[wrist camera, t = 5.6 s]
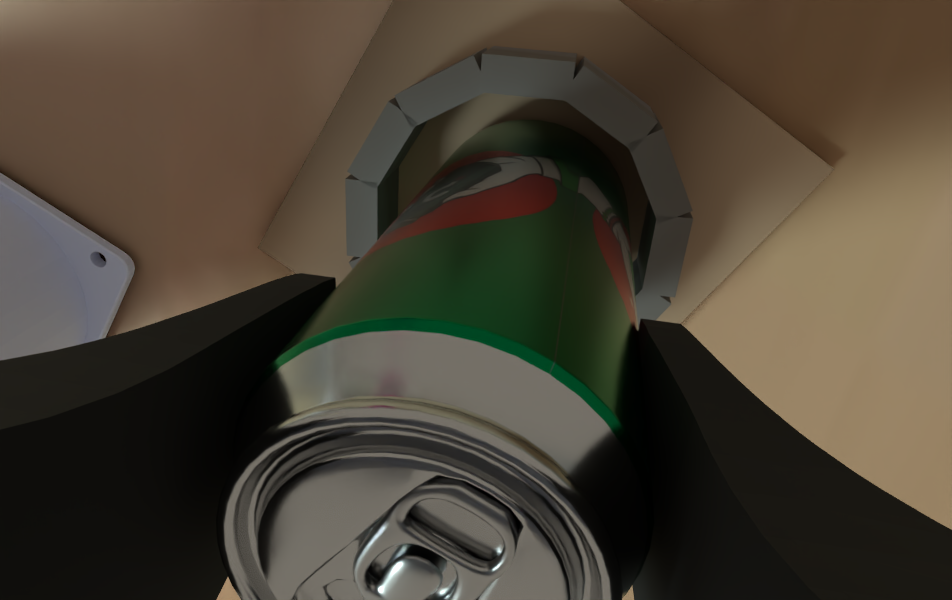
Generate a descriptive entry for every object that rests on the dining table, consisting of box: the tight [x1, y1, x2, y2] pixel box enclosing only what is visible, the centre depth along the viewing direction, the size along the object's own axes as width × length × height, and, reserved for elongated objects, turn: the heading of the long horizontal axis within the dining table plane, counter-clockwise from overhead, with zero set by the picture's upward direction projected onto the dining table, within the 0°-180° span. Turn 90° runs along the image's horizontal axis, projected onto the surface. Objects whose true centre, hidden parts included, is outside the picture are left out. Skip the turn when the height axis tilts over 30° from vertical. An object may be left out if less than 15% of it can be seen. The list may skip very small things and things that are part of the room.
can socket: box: [258, 0, 834, 329], centre depth 17 cm, size 11×11×2 cm
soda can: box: [216, 120, 654, 600], centre depth 12 cm, size 5×5×12 cm
